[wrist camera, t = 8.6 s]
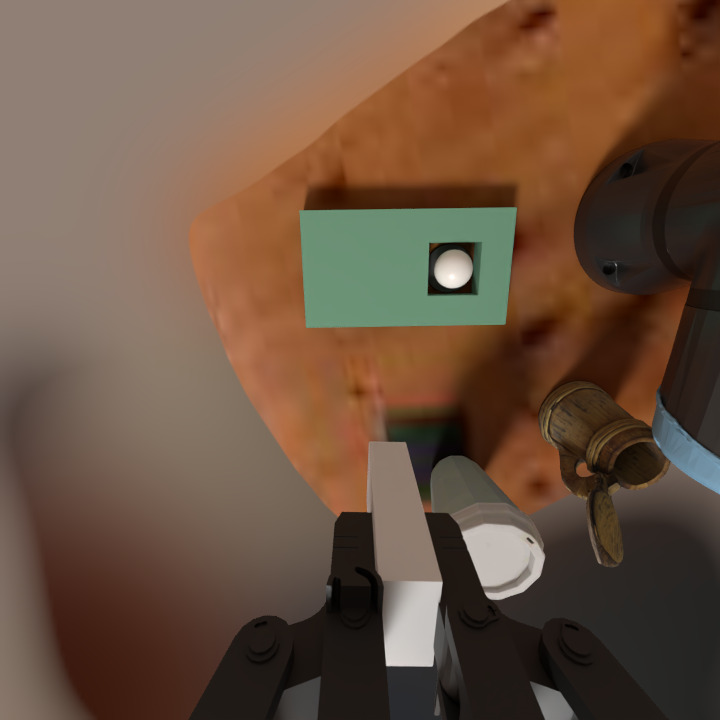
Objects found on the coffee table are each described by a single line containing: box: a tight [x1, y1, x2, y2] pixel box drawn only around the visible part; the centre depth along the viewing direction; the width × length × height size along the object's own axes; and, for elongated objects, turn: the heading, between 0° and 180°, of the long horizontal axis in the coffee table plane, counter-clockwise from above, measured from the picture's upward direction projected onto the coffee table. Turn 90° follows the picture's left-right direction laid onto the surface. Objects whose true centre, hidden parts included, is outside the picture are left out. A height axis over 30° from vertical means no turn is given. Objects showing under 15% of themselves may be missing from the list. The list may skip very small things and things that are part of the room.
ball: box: [434, 250, 473, 288], centre depth 38 cm, size 4×4×4 cm
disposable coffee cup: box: [431, 456, 545, 599], centre depth 40 cm, size 11×11×15 cm
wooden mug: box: [538, 381, 671, 567], centre depth 37 cm, size 9×14×18 cm, turn 127°
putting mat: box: [299, 207, 517, 328], centre depth 39 cm, size 22×12×2 cm, turn 91°
